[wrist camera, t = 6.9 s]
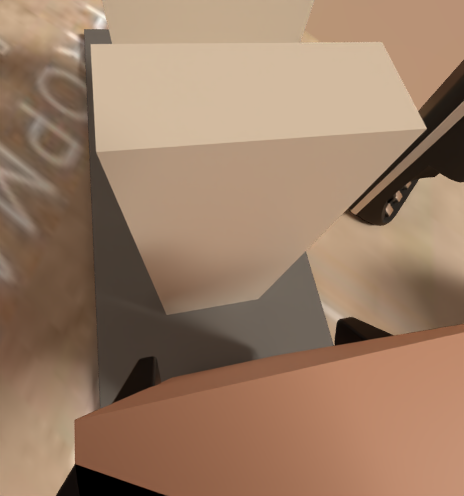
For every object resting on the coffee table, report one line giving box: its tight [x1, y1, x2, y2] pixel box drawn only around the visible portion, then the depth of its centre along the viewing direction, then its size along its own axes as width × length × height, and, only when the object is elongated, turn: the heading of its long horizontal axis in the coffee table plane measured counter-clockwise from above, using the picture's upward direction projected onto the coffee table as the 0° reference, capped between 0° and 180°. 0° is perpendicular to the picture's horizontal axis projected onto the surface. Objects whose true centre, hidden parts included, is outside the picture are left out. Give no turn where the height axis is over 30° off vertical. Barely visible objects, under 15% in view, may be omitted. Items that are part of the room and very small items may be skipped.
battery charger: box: [349, 60, 464, 226], centre depth 16 cm, size 7×4×11 cm, turn 141°
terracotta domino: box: [75, 324, 464, 496], centre depth 8 cm, size 2×5×13 cm, turn 101°
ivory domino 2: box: [91, 42, 427, 315], centre depth 11 cm, size 2×5×13 cm, turn 101°
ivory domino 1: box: [102, 0, 314, 44], centre depth 12 cm, size 2×5×13 cm, turn 100°
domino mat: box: [84, 29, 334, 409], centre depth 19 cm, size 30×12×1 cm, turn 11°
